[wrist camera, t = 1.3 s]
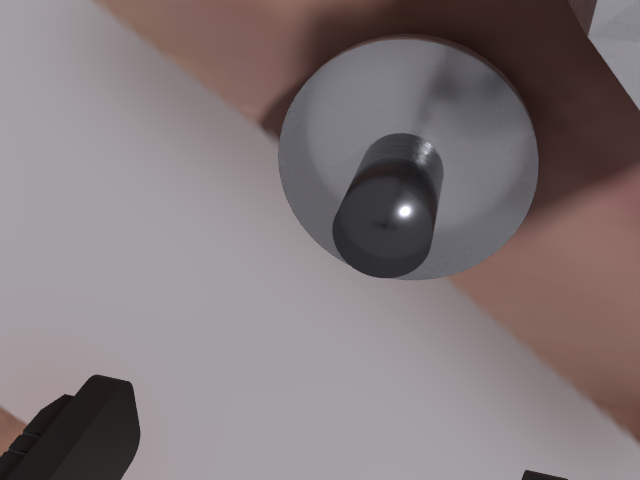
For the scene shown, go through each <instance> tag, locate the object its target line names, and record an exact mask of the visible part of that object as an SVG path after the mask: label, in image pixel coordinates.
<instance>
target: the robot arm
mask: <svg viewBox="0 0 640 480" xmlns="http://www.w3.org/2000/svg"><path fill="white" fill-rule="evenodd" d="M139 440H140V426H139V420H138V414H137V408H136V402H135V396H134V390H133V386H132V384H131V383H130V382H129V381H124V380H120V379H115V378H111V377H106V376H101V375H93V376H92V377H90V378H89V379H88V380H87V381H86V383H85V384H84V385H83V386H82V387H81V389H80V390H79V391H78V392H77V394H76V395H75V396H71V395H66V394H64V395H63V396H61V397H60V398H58V399H57V400H55V401H54V402H52V403H51V404H49V405H48V406H46V407H45V408H43V409H42V410H40V412H39V413H38V414H37V415H36V416H35V417H34V419H33V420H32V421H31V422H30V423H29V424H28V426H27V427H26V428H25V429H24V430H23V434H22V435H19V436H18V437H17V438H16V440H15V441H14V442H13V443H12V444H11V445H10V447H9V450H8V451H7V452H4V453H3V455H2V456H1V457H0V480H121V478H122V476H123V475H124V473H125V472H126V470H127V469H128V467H129V465H130V464H131V462H132V461H133V459H134V456H135V454H136V452H137V449H138V446H139ZM522 480H568V479H565V478H561V477H556V476H552V475H547V474H542V473H538V472H533V471H529V470H526V471H525V472H524V474H523V477H522Z"/></svg>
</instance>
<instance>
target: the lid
mask: <svg viewBox="0 0 640 480" xmlns="http://www.w3.org/2000/svg"><path fill="white" fill-rule="evenodd" d="M278 159H279V172H280V176H281V182H282V186H283V189H284V192H285V195H286V198H287V200H288V202H289V204H290V206H291V208H292V210H293V213H294V214H295V216H296V217H297V219H298V220H299V222H300V223H301V225H302V226H303V227H304V229H305V230H306V231H307V232H308V233H309V234H310V236H311V237H312V238H313V239H314V240H315V241H316V242H317V243H318V244H319V245H321V246H322V247H323V248H324V249H325V250H327V251H328V252H329V253H331V254H332V255H333V256H335V257H336V258H338V259H340V260H342V261H343V262H345V263H346V264H348V265H350V266H352V267H353V268H354V269H356V270H358V271H360V272H362V273H364V274H366V275H369V276H373V277H378V278H392V279H401V280H426V279H435V278H440V277H444V276H449V275H452V274H455V273H458V272H461V271H464V270H466V269H468V268H471V267H473V266H475V265H477V264H479V263H480V262H482V261H483V260H485V259H487V258H488V257H490V256H491V255H493V254H494V253H495V252H496V251H497V250H499V249H500V248H501V247H502V246H503V245H504V244H505V243H506V242H507V241H508V240H509V239H510V238H511V237H512V236H513V234H514V233H515V232H516V230H517V229H518V228H519V226H520V225H521V223H522V222H523V220H524V218H525V216H526V214H527V212H528V210H529V208H530V206H531V203H532V200H533V197H534V194H535V191H536V185H537V179H538V163H539V157H538V150H537V142H536V135H535V130H534V126H533V123H532V119H531V116H530V114H529V111H528V109H527V107H526V105H525V103H524V100H523V99H522V97H521V96H520V94H519V92H518V91H517V89H516V88H515V86H514V85H513V84H512V83H511V81H510V80H509V79H508V78H507V77H506V76H505V75H504V73H503V72H502V71H501V70H499V69H498V68H497V67H496V66H495V65H494V64H492V63H491V62H490V61H489V60H488V59H486V58H485V57H483V56H481V55H480V54H478V53H477V52H475V51H474V50H472V49H470V48H467V47H465V46H463V45H461V44H459V43H457V42H454V41H450V40H447V39H444V38H440V37H436V36H430V35H424V34H393V35H384V36H380V37H376V38H372V39H368V40H365V41H363V42H360V43H358V44H355V45H353V46H350V47H349V48H347V49H345V50H343V51H342V52H340V53H338V54H336V55H335V56H334V57H332V58H331V59H330V60H328V61H327V62H326V63H325V64H323V65H322V66H321V67H320V68H319V69H318V70H317V71H316V72H315V73H314V74H313V75H312V76H311V78H310V79H309V80H308V81H307V82H306V83H305V84H304V85H303V87H302V88H301V90H300V91H299V92H298V94H297V95H296V96H295V98H294V100H293V102H292V104H291V106H290V108H289V109H288V111H287V114H286V117H285V120H284V123H283V125H282V130H281V135H280V140H279V152H278Z"/></svg>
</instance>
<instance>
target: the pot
mask: <svg viewBox="0 0 640 480" xmlns="http://www.w3.org/2000/svg"><path fill="white" fill-rule="evenodd" d="M567 1H568V3H569V5H570V7H571V8H572V10H573V12H574V14H575V16H576V17H577V19H578V21H579V23H580V25H581V26H582V28H583V30H584V32H585V34H586V35H587V37H588V38H589V39H590V40H591V42H592V43H593V45H594V46H595V47H596V49H597V50H598V52H599V53H600V55H601V56H602V57H603V59H604V60H605V62H606V63H607V65H608V66H609V67H610V69H611V70H612V72H613V73H614V74H615V76H616V77H617V79H618V80H619V82H620V83H621V84H622V86H623V87H624V89H625V90H626V92H627V93H628V94H629V96H630V97H631V99H632V100H633V101H634V103H635V104H636V106H637V107H638V109H639V110H640V0H567Z"/></svg>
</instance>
